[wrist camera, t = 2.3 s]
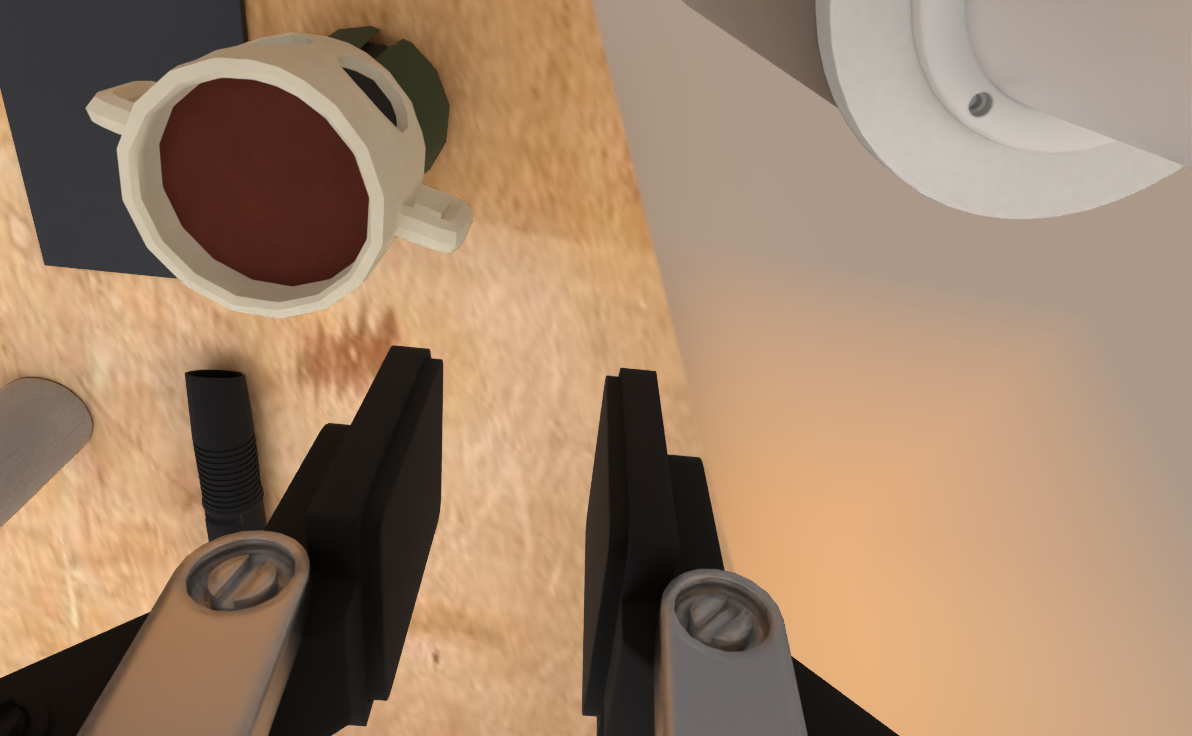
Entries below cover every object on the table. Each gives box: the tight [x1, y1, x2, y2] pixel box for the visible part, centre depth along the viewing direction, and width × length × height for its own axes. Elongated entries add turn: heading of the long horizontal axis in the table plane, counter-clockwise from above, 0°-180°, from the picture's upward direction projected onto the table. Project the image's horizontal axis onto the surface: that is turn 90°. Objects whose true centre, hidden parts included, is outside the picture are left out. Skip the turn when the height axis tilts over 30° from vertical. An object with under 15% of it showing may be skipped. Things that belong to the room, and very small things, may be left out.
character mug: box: [86, 26, 473, 319], centre depth 26 cm, size 11×7×13 cm, turn 68°
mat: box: [0, 0, 247, 279], centre depth 31 cm, size 10×17×1 cm, turn 174°
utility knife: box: [185, 370, 266, 542], centre depth 41 cm, size 22×4×3 cm, turn 174°
